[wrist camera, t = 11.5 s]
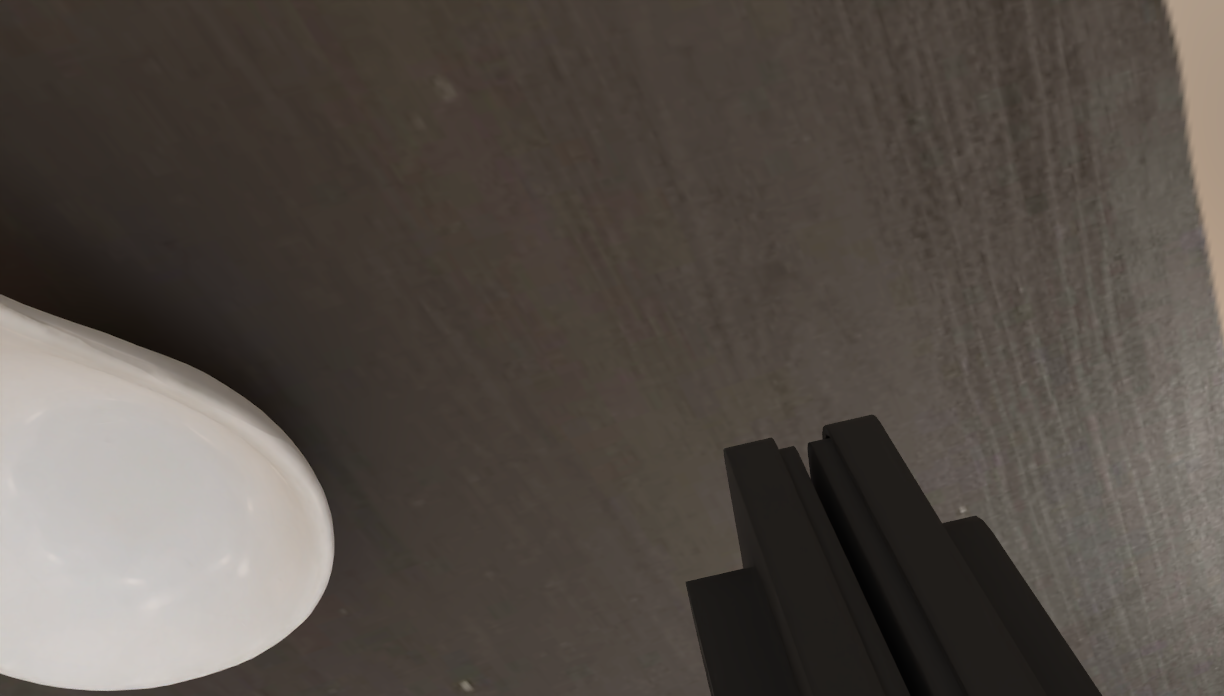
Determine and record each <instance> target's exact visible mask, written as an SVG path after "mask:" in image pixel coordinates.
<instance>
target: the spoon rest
mask: <svg viewBox="0 0 1224 696" xmlns="http://www.w3.org/2000/svg"><path fill="white" fill-rule="evenodd" d="M333 559H334V531H333V522H332V516H331V512H330V509H329V506H328V502H327V499H326V496H325V493H324V491H323V488H322V486H321V485H320V483H319V481H318V479H317V477H316V475H315V473H314V472H313V470H312V468H311V466H310V465H309V463H308V462H307V460H306V459H305V457H304V456H303V454H302V453H301V452H300V450H299V449H298V448H297V447H296V445H295V444H294V443H293V441H292V440H291V439H290V438H289V437H288V436H287V435H286V434H285V432H284V431H283V430H282V429H281V428H280V427H279V426H278V425H277V424H275V423H274V422H273V421H272V420H271V419H270V418H269V417H268V416H267V415H266V414H265V413H264V412H263V411H262V410H260V409H259V408H258V407H256V406H255V405H254V404H252V403H251V402H250V401H248V400H247V399H246V398H244V397H243V396H241V395H240V394H238V393H237V392H235V391H234V390H232V389H231V388H229V387H228V386H226V385H225V384H223V383H221V382H220V381H218V380H216V379H215V378H213V377H211V376H210V375H208V374H206V373H204V372H202V371H200V370H198V369H196V368H194V367H192V366H190V365H188V364H185V363H183V362H180V361H178V360H175V359H173V358H170V357H168V356H165V355H162V354H160V353H157V352H154V351H151V350H148V349H146V348H143V347H140V346H137V345H135V344H132V343H130V342H127V341H125V340H122V339H120V338H117V337H115V336H112V335H110V334H107V333H104V332H101V331H98V330H95V329H92V328H89V327H86V326H83V325H80V324H77V323H74V322H71V321H69V320H66V319H63V318H60V317H57V316H54V315H52V314H49V313H46V312H43V311H41V310H38V309H35V308H32V307H30V306H27V305H24V304H22V303H19V302H17V301H15V300H13V299H10V298H8V297H6V296H3V295H1V294H0V674H4V675H7V676H10V677H13V678H17V679H21V680H25V681H29V682H33V683H37V684H42V685H48V686H53V687H60V688H69V689H80V690H97V691H115V690H132V689H146V688H154V687H159V686H167V685H171V684H175V683H179V682H183V681H187V680H191V679H195V678H199V677H203V676H206V675H209V674H212V673H215V672H219V671H221V670H224V669H227V668H230V667H233V666H236V665H238V664H241V663H243V662H245V661H247V660H250V659H252V658H254V657H256V656H257V655H259V654H261V653H262V652H264V651H266V650H267V649H269V648H271V647H272V646H274V645H275V644H277V643H278V642H280V641H281V640H282V639H284V638H285V637H286V636H288V635H289V634H290V633H291V632H292V631H294V630H295V629H296V628H297V627H298V626H299V625H300V624H301V623H303V622H304V621H305V620H306V619H307V618H308V616H309V615H310V614H311V613H312V611H313V610H314V608H315V607H316V605H317V604H318V602H319V601H320V599H321V597H322V595H323V593H324V591H325V589H326V587H327V584H328V581H329V578H330V575H331V570H332V566H333Z"/></svg>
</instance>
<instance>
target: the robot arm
mask: <svg viewBox="0 0 1224 696" xmlns="http://www.w3.org/2000/svg"><path fill="white" fill-rule="evenodd" d="M822 435H823V440H818V441H814V442H810V443H808V458H809V467H810V475H811V479H810V477H809V475H808V473H807V471H806V469H805V466H804V464H803V462H802V460H801V458H800V456H799V453H798V451H797V450H796V448H795V447H794V446H792V447H788V448H783V449H779V450H778V447H777V445H776V443H775V441H774V439H772V438H768V439H764V440H759V441H755V442H750V443H746V444H742V445H737V446H733V447H729V448H724V458H725V465H726V470H727V476H728V482H729V488H730V493H731V499H732V505H733V511H734V516H735V522H736V528H737V533H738V539H739V545H740V551H741V556H742V562H743V568H744V569H740V570H736V571H731V572H727V573H723V574H718V575H714V576H710V577H705V578H701V579H696V580H692V581H688V582H686V587H687V591H688V596H689V601H690V605H691V610H692V614H693V619H694V623H695V628H696V632H697V637H698V641H699V646H700V650H701V654H702V659H703V663H704V667H705V671H706V676H707V680H708V684H709V688H710V693H711V696H1102V695H1101V693H1100V692H1099V690H1098V689H1097V687H1096V686H1095V684H1094V683H1093V681H1092V680H1091V678H1090V677H1089V675H1088V674H1087V672H1086V671H1085V669H1084V668H1083V666H1082V665H1081V663H1080V662H1079V660H1078V659H1077V657H1076V656H1075V654H1074V653H1073V651H1072V650H1071V649H1070V647H1069V646H1068V644H1067V643H1066V641H1065V640H1064V638H1063V637H1062V635H1061V634H1060V632H1059V631H1058V629H1057V628H1056V626H1055V625H1054V623H1053V622H1052V620H1051V619H1050V617H1049V616H1048V614H1047V613H1046V611H1045V610H1044V608H1043V607H1042V605H1041V604H1040V602H1039V601H1038V599H1037V598H1036V596H1035V595H1034V593H1033V592H1032V590H1031V589H1030V587H1029V586H1028V584H1027V583H1026V581H1025V580H1024V578H1023V577H1022V576H1021V574H1020V573H1019V571H1018V570H1017V568H1016V567H1015V565H1014V564H1013V562H1012V561H1011V559H1010V558H1009V556H1008V555H1007V553H1006V552H1005V550H1004V549H1003V547H1002V546H1001V544H1000V543H999V541H998V540H997V538H996V537H995V535H994V534H993V532H992V531H991V530H990V528H989V527H988V526H987V525H986V523H985V522H984V521H983V520H982V519H980V518H978V517H977V516H972V517H968V518H964V519H959V520H955V521H950V522H946V523H941V521H940V519H939V518H938V516H937V515H936V513H935V511H934V510H933V508H932V506H931V505H930V503H929V501H928V500H927V498H926V497H925V495H924V493H923V492H922V490H921V488H920V487H919V485H918V483H917V482H916V480H915V479H914V477H913V475H912V474H911V472H910V470H909V469H908V467H907V465H906V464H905V462H904V461H903V459H902V457H901V456H900V454H899V452H898V451H897V449H896V447H895V446H894V444H893V443H892V441H891V439H890V438H889V436H888V434H887V433H886V431H885V429H884V428H883V426H882V425H881V423H880V421H879V420H878V419H877V417H876V416H874V415H868V416H864V417H860V418H855V419H851V420H846V421H842V422H838V423H833V424H829V425H825V426H824V427H823V432H822Z"/></svg>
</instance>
